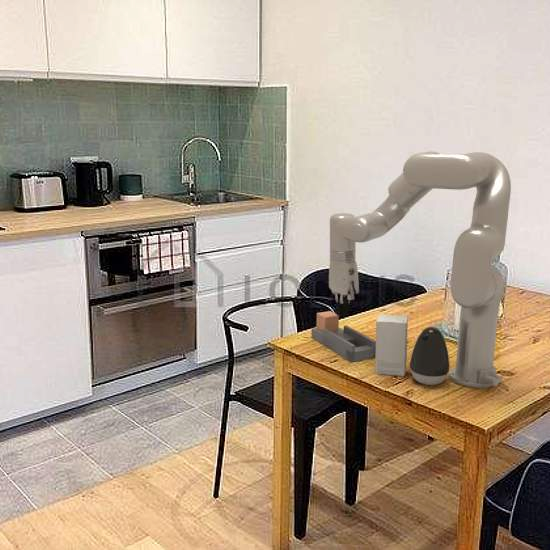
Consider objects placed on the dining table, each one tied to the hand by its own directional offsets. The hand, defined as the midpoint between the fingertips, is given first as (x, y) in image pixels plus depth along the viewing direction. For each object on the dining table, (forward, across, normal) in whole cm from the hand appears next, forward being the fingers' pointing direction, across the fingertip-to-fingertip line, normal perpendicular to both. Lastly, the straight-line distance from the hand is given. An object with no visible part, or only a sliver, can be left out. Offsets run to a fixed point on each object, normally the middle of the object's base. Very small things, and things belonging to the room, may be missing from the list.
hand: (342, 315), depth 194 cm
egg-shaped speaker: (+11, -32, -6) cm, 35 cm away
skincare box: (+11, -22, -1) cm, 25 cm away
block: (+7, +8, +1) cm, 10 cm away
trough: (+10, -1, +1) cm, 10 cm away
